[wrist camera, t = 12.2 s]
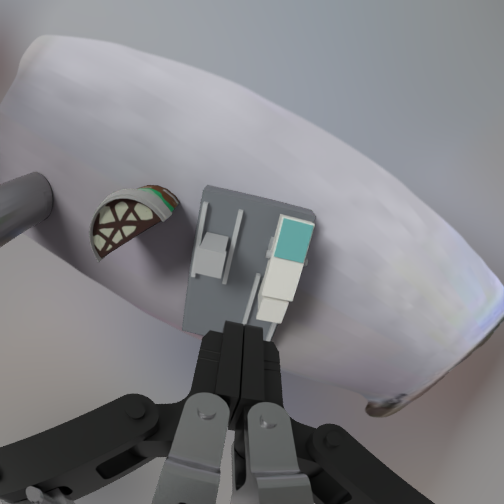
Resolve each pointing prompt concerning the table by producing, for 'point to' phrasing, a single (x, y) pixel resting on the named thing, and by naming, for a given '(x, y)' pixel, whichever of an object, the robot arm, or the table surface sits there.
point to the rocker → (287, 257)
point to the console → (234, 259)
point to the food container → (128, 216)
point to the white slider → (271, 308)
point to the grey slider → (211, 255)
